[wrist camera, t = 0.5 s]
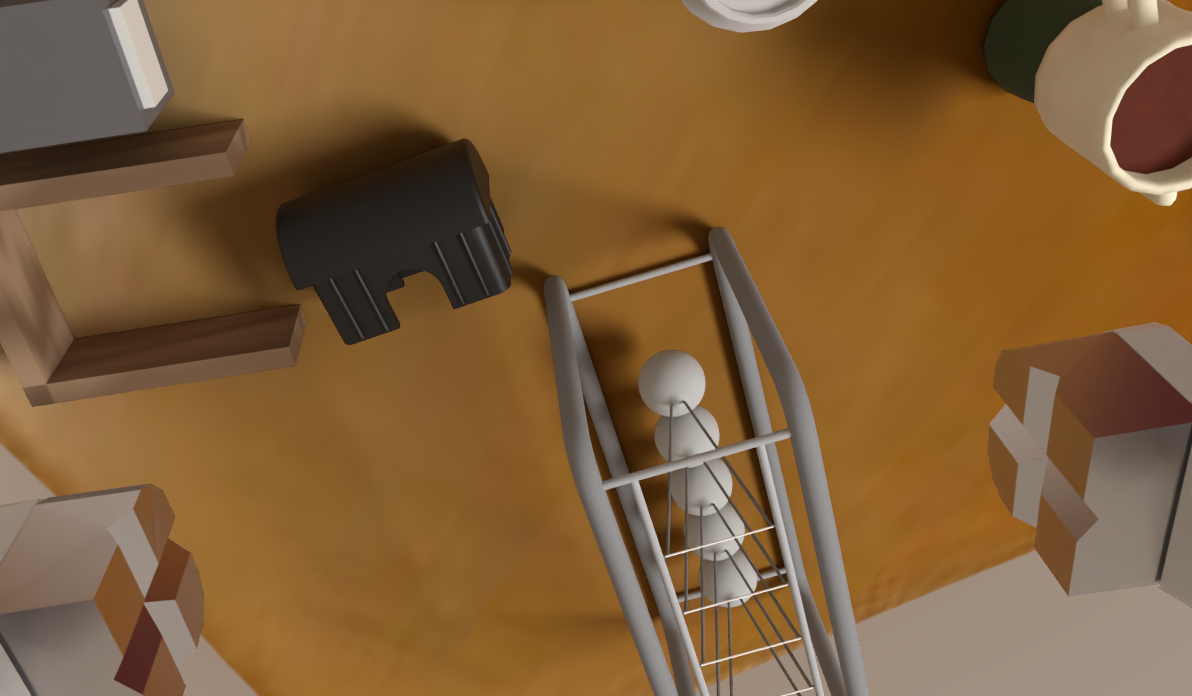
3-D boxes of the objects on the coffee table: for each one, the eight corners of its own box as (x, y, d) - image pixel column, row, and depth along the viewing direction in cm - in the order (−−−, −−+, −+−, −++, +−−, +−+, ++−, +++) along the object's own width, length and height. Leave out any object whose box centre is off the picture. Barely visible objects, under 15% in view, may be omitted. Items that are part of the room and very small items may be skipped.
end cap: (466, 115, 53) (466, 164, 47) (515, 233, 57) (521, 292, 51) (286, 180, 54) (264, 237, 48) (346, 292, 58) (332, 357, 52)
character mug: (1117, 98, 56) (1276, 194, 45) (990, 150, 57) (1116, 257, 46) (1091, -102, 51) (1264, -47, 40) (951, -40, 51) (1082, 30, 40)
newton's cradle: (806, 582, 73) (893, 809, 58) (663, 622, 74) (713, 856, 59) (720, 209, 57) (810, 389, 42) (538, 263, 58) (564, 460, 43)
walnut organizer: (-140, -68, 46) (-195, -47, 42) (171, -112, 46) (145, -95, 42) (60, 360, 58) (32, 406, 54) (306, 322, 58) (295, 366, 54)
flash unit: (-44, -10, 48) (-99, 21, 43) (142, -36, 48) (108, -9, 43) (11, 116, 51) (-35, 158, 46) (185, 90, 51) (157, 129, 46)
